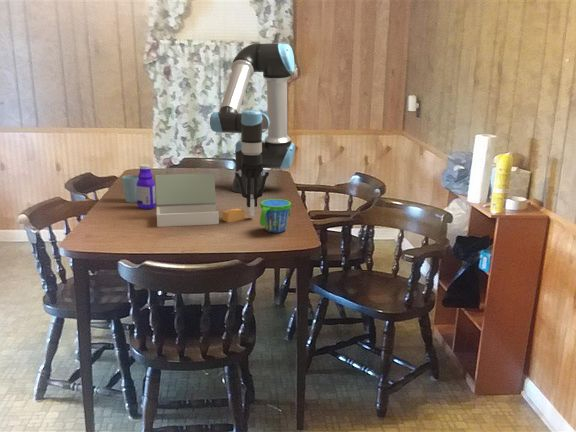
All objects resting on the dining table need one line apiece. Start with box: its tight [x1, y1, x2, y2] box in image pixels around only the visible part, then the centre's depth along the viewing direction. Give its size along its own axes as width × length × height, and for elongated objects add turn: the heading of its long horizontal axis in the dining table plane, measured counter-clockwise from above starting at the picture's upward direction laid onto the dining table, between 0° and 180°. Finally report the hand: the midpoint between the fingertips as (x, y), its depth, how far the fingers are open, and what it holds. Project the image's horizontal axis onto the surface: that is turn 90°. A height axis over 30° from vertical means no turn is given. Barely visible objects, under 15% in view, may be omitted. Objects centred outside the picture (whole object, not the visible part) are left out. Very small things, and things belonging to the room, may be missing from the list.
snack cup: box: [259, 198, 292, 234], centre depth 206 cm, size 16×10×10 cm
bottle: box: [136, 163, 157, 210], centre depth 233 cm, size 7×6×17 cm
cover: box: [154, 172, 217, 207], centre depth 221 cm, size 22×12×1 cm
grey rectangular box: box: [156, 204, 220, 228], centre depth 217 cm, size 22×12×4 cm, turn 102°
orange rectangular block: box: [221, 208, 245, 223], centre depth 220 cm, size 7×4×4 cm, turn 128°
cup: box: [121, 174, 139, 203], centre depth 244 cm, size 8×8×10 cm
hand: (251, 215), depth 221 cm, fingers closed
